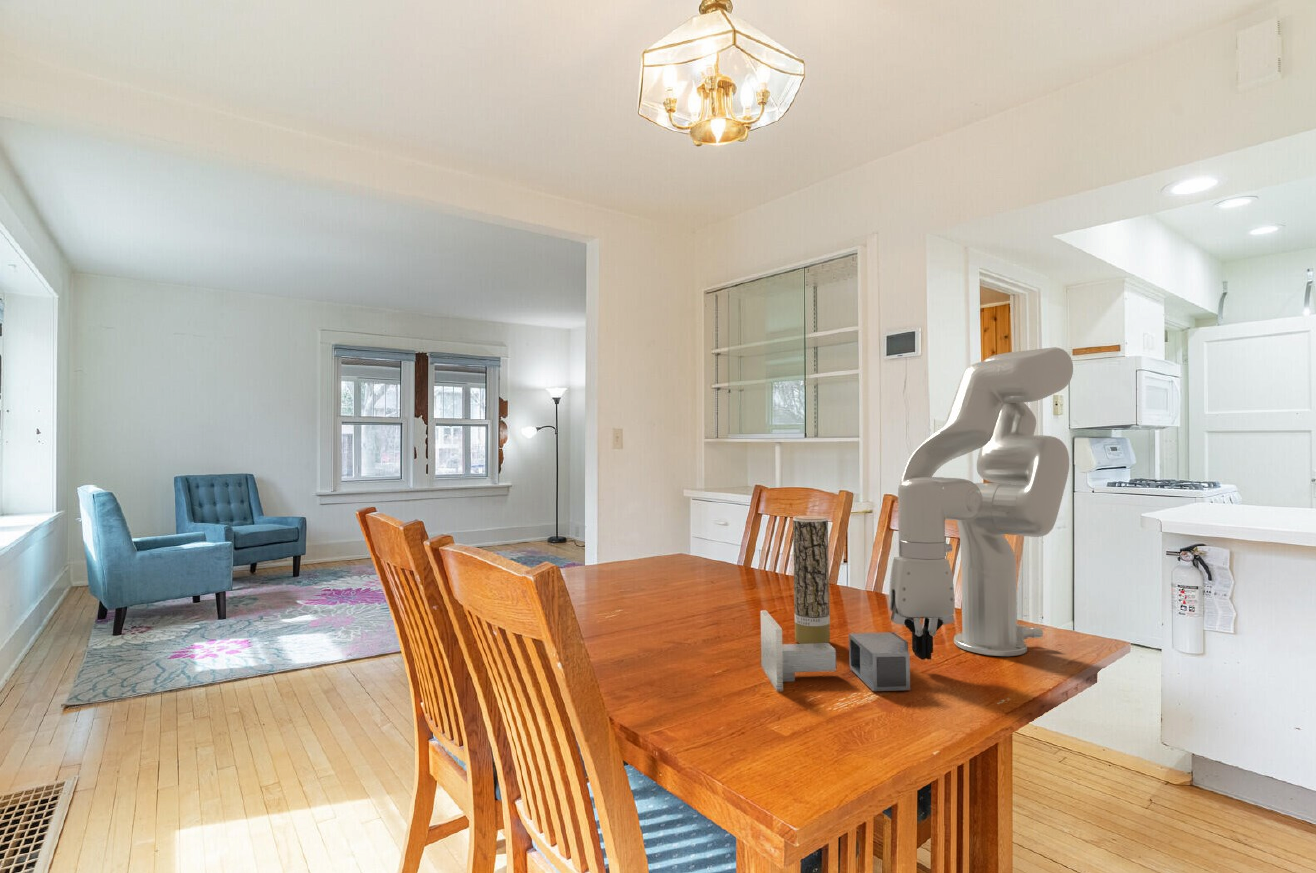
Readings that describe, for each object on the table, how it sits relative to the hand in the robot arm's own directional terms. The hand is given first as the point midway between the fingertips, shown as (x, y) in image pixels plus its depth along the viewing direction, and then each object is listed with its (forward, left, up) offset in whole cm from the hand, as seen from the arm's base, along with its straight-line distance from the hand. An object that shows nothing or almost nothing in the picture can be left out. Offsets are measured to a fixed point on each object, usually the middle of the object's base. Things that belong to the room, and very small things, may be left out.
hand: (922, 657), depth 113 cm
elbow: (+8, +3, -2) cm, 9 cm away
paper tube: (+14, -18, -3) cm, 23 cm away
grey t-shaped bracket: (+22, +1, -3) cm, 22 cm away
